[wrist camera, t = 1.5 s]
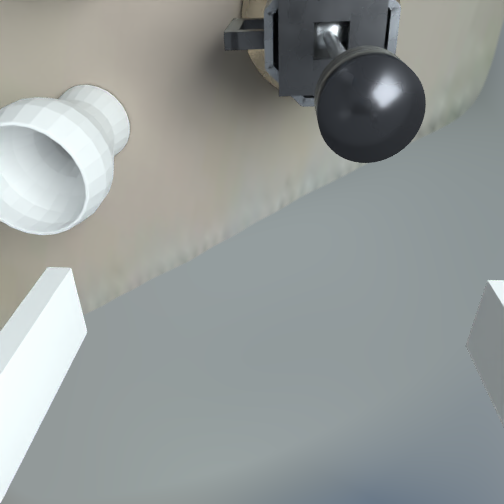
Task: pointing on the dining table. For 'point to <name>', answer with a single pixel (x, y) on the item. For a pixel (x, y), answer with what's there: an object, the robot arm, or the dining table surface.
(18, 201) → the cup
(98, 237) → the dining table surface
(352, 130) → the black knob on rod
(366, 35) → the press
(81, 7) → the dining table surface
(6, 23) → the dining table surface
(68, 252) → the dining table surface
